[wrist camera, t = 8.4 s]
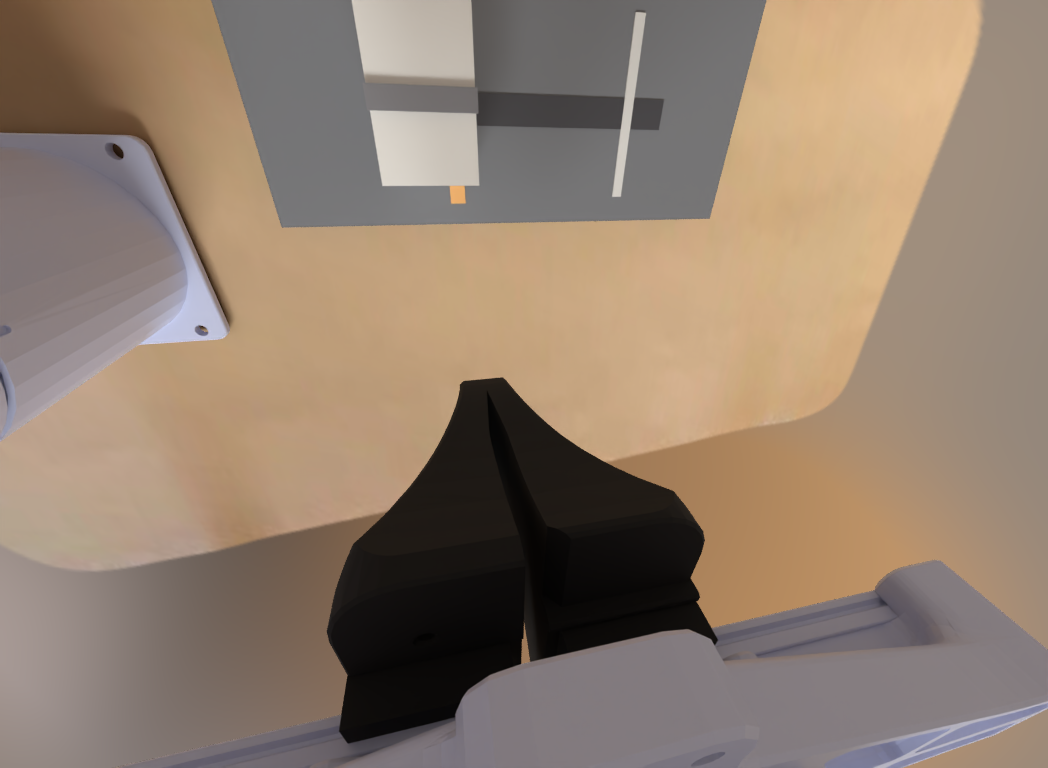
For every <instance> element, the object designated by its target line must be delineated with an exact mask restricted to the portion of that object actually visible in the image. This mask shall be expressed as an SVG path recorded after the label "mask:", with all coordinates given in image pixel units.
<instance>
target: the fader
mask: <svg viewBox="0 0 1048 768" xmlns="http://www.w3.org/2000/svg"><path fill="white" fill-rule="evenodd" d="M352 6H353V12H354V18H355V24H356V30H357V36H358V42H359V48H360V54H361V60H362V66H363V72H364V78H365V83H363V89H364V95H365V101H366V107H367V110H370V114H371V120H372V126H373V132H374V138H375V144H376V150H377V156H378V162H379V168H380V174H381V180H382V186H479V167H478V144H477V121H476V114H478V113H479V112H478V88H477V87H475V75H474V52H473V29H472V5H471V0H352Z"/></svg>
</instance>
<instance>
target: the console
mask: <svg viewBox="0 0 1048 768" xmlns="http://www.w3.org/2000/svg"><path fill="white" fill-rule="evenodd" d="M211 1H212V4H213V7H214V11H215V14H216V17H217V20H218V23H219V27H220V30H221V33H222V36H223V40H224V43H225V46H226V49H227V52H228V56H229V59H230V62H231V65H232V69H233V72H234V75H235V78H236V81H237V85H238V88H239V91H240V94H241V98H242V101H243V104H244V107H245V110H246V114H247V117H248V120H249V123H250V126H251V130H252V133H253V136H254V139H255V143H256V146H257V149H258V152H259V155H260V159H261V162H262V165H263V168H264V172H265V175H266V178H267V181H268V184H269V188H270V191H271V194H272V197H273V201H274V204H275V207H276V210H277V213H278V217H279V220H280V223H281V226H282V227H327V226H376V225H424V224H472V223H520V222H569V221H617V220H665V219H710V215H711V211H712V207H713V203H714V200H715V196H716V192H717V188H718V184H719V180H720V176H721V173H722V169H723V165H724V161H725V157H726V153H727V150H728V146H729V142H730V138H731V134H732V130H733V127H734V123H735V119H736V115H737V111H738V107H739V103H740V100H741V96H742V92H743V88H744V84H745V80H746V77H747V73H748V69H749V65H750V61H751V57H752V53H753V50H754V46H755V42H756V38H757V34H758V30H759V27H760V23H761V19H762V15H763V11H764V7H765V4H766V0H471V5H472V29H473V52H474V75H475V87H477V88H478V112H479V113H478V114H476V121H477V144H478V167H479V186H382V180H381V174H380V168H379V162H378V156H377V150H376V144H375V138H374V132H373V126H372V120H371V114H370V110H367V107H366V101H365V95H364V89H363V83H365V78H364V72H363V66H362V60H361V54H360V48H359V42H358V36H357V30H356V24H355V18H354V12H353V6H352V0H211Z"/></svg>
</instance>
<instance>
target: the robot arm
mask: <svg viewBox="0 0 1048 768" xmlns="http://www.w3.org/2000/svg"><path fill="white" fill-rule="evenodd" d="M113 144H116V145H118V146H119V147H120V148H121V149H122V151H123V153H124V157H123V159H121V158H120V157H118V156H117V155H116V154H115V153H114V151H113V147H112V146H113ZM199 325H200V326H204V327H206V328H207V330H208V332H204V331H202V330H201V329H200V328H199ZM229 331H230V327H229V324H228V322H227V320H226V318H225V315H224V313H223V311H222V308H221V306H220V304H219V302H218V299H217V297H216V295H215V293H214V290H213V288H212V286H211V283H210V281H209V279H208V277H207V274H206V272H205V270H204V268H203V265H202V263H201V261H200V258H199V256H198V254H197V252H196V249H195V247H194V245H193V242H192V240H191V238H190V236H189V233H188V231H187V229H186V227H185V224H184V222H183V220H182V217H181V215H180V213H179V211H178V208H177V206H176V204H175V202H174V199H173V197H172V195H171V192H170V190H169V188H168V186H167V183H166V181H165V179H164V176H163V174H162V172H161V170H160V167H159V165H158V163H157V161H156V158H155V156H154V154H153V151H152V150H151V148H150V147H149V145H148V144H147V143H146V142H144V141H143V140H142V139H140V138H138V137H136V136H132V135H100V134H42V133H0V442H1V441H2V440H3V439H5V438H6V437H8V436H9V435H10V434H12V433H13V432H15V431H16V430H18V429H19V428H20V427H22V426H23V425H25V424H26V423H28V422H29V421H30V420H32V419H33V418H35V417H36V416H38V415H39V414H40V413H42V412H43V411H45V410H46V409H48V408H49V407H50V406H52V405H53V404H55V403H56V402H58V401H59V400H60V399H62V398H63V397H65V396H66V395H67V394H69V393H70V392H72V391H73V390H75V389H76V388H77V387H79V386H80V385H82V384H83V383H85V382H86V381H87V380H89V379H90V378H92V377H93V376H95V375H96V374H97V373H99V372H100V371H102V370H103V369H105V368H106V367H107V366H109V365H110V364H112V363H113V362H115V361H116V360H117V359H119V358H120V357H122V356H123V355H124V354H126V353H127V352H129V351H130V350H132V349H133V348H134V347H136V346H137V345H141V344H156V343H171V342H186V341H201V340H217V339H222V338H224V337H225V336H226V335H228V334H229ZM704 541H705V539H704V534H703V531H702V529H701V528H700V526H699V525H698V523H697V522H696V521H695V519H694V517H693V516H692V514H691V513H690V511H689V510H688V509H687V507H686V506H685V505H684V503H683V502H682V501H681V500H680V499H679V497H678V496H677V495H676V494H675V492H674V491H672V490H669V489H666V488H664V487H661V486H659V485H656V484H653V483H651V482H648V481H645V480H643V479H640V478H637V477H635V476H633V475H631V474H628V473H626V472H624V471H622V470H619V469H617V468H615V467H613V466H611V465H610V464H608V463H606V462H604V461H602V460H600V459H598V458H596V457H595V456H593V455H591V454H589V453H588V452H586V451H584V450H583V449H581V448H580V447H578V446H576V445H575V444H573V443H572V442H571V441H569V440H568V439H566V438H565V437H563V436H562V435H561V434H559V433H558V432H557V431H556V430H554V429H553V428H552V427H551V426H550V425H548V424H547V423H546V422H545V421H544V420H543V419H542V418H541V417H539V416H538V415H537V414H536V413H535V412H534V411H533V410H532V409H531V408H530V407H529V406H528V405H527V404H526V403H525V402H524V401H523V400H522V398H521V397H520V396H519V395H518V394H517V393H516V392H515V391H514V389H513V388H512V387H511V386H510V385H509V383H508V382H507V381H506V380H505V379H504V378H492V379H481V380H471V381H463V382H462V383H461V384H460V392H459V397H458V400H457V404H456V407H455V409H454V412H453V415H452V417H451V420H450V422H449V425H448V427H447V429H446V431H445V433H444V435H443V437H442V439H441V441H440V443H439V444H438V446H437V448H436V450H435V451H434V453H433V455H432V456H431V458H430V459H429V461H428V463H427V464H426V465H425V467H424V468H423V470H422V471H421V472H420V474H419V475H418V477H417V478H416V479H415V481H414V482H413V483H412V484H411V486H410V487H409V488H408V489H407V490H406V492H405V493H404V494H403V495H402V496H401V497H400V498H399V499H398V501H397V502H396V503H395V504H394V505H393V506H392V507H391V508H390V510H389V511H388V512H387V513H386V514H385V515H384V516H383V517H382V518H381V519H380V520H379V521H378V522H377V523H376V524H375V525H373V526H372V527H371V528H370V529H369V530H368V531H367V532H366V533H365V534H364V535H363V536H362V537H361V538H359V540H357V541H356V542H355V543H354V544H353V546H352V548H351V550H350V553H349V555H348V557H347V560H346V562H345V565H344V567H343V570H342V573H341V576H340V579H339V581H338V584H337V588H336V591H335V595H334V599H333V604H332V609H331V614H330V619H329V624H328V628H327V634H328V638H329V642H330V644H331V646H332V648H333V650H334V651H335V653H336V655H337V657H338V659H339V660H340V662H341V664H342V666H343V668H344V669H345V671H346V673H347V675H348V676H347V682H346V689H345V695H344V701H343V707H342V714H341V715H338V716H333V717H329V718H324V719H320V720H316V721H312V722H307V723H303V724H299V725H295V726H290V727H286V728H282V729H277V730H273V731H269V732H264V733H260V734H256V735H252V736H248V737H243V738H239V739H235V740H230V741H226V742H222V743H217V744H213V745H209V746H205V747H200V748H196V749H192V750H187V751H183V752H179V753H175V754H170V755H166V756H162V757H157V758H153V759H149V760H144V761H140V762H136V763H132V764H127V765H123V766H119V767H115V768H903V767H906V766H909V765H911V764H914V763H917V762H920V761H922V760H925V759H928V758H931V757H933V756H936V755H939V754H942V753H944V752H947V751H950V750H953V749H956V748H958V747H961V746H964V745H967V744H970V743H973V742H976V741H979V740H981V739H985V738H987V737H990V736H993V735H995V734H997V733H999V732H1001V731H1004V730H1006V729H1007V728H1010V727H1012V726H1014V725H1016V724H1017V723H1020V722H1022V721H1024V720H1026V719H1028V718H1030V717H1032V716H1034V715H1036V714H1038V713H1040V712H1042V711H1044V710H1046V709H1048V649H1046V648H1045V647H1044V646H1043V645H1041V644H1040V643H1039V642H1038V641H1037V640H1035V639H1034V638H1033V637H1032V636H1031V635H1029V634H1028V633H1027V632H1026V631H1025V630H1023V629H1022V628H1021V627H1020V626H1019V625H1017V624H1016V623H1015V622H1014V621H1013V620H1011V619H1010V618H1009V617H1008V616H1006V615H1005V614H1004V613H1003V612H1002V611H1001V610H999V609H998V608H997V607H996V606H995V605H993V604H992V603H991V602H990V601H989V600H987V599H986V598H985V597H984V596H983V595H981V594H980V593H979V592H978V591H977V590H975V589H974V588H973V587H972V586H970V585H969V584H968V583H967V582H966V581H964V580H963V579H962V578H961V577H960V576H958V575H957V574H956V573H955V572H954V571H952V570H951V569H950V568H949V567H948V566H946V565H945V564H944V563H943V562H941V561H939V560H932V561H927V562H923V563H918V564H914V565H909V566H905V567H901V568H898V569H895V570H893V571H892V572H890V573H888V574H887V575H886V576H885V577H883V578H882V579H881V580H880V581H879V583H878V584H877V585H876V587H875V590H873V591H869V592H865V593H861V594H856V595H852V596H847V597H843V598H839V599H835V600H830V601H826V602H822V603H817V604H813V605H809V606H805V607H801V608H797V609H792V610H787V611H783V612H779V613H775V614H771V615H766V616H762V617H758V618H754V619H749V620H745V621H741V622H736V623H732V624H727V625H723V626H719V627H715V628H711V626H710V625H709V623H708V621H707V619H706V618H705V616H704V614H703V612H702V611H701V609H700V607H699V605H698V604H697V602H696V601H698V600H699V598H700V596H699V592H698V590H697V589H696V587H695V585H694V583H693V582H692V580H691V578H690V577H691V575H692V573H693V570H694V568H695V566H696V564H697V562H698V560H699V557H700V555H701V552H702V549H703V545H704ZM524 623H525V630H526V636H527V642H528V649H529V656H530V662H528V663H524V664H521V651H522V649H521V648H522V639H523V633H524Z"/></svg>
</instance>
